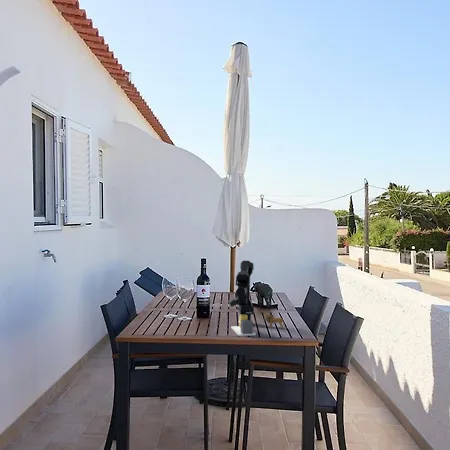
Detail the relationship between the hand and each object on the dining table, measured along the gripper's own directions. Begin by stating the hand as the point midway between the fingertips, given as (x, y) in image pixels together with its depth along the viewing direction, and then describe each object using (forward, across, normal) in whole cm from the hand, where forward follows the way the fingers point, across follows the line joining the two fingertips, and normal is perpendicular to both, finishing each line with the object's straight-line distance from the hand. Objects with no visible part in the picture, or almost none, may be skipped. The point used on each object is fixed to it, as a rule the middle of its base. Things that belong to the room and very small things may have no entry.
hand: (241, 319), depth 289 cm
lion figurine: (+7, -4, +22) cm, 24 cm away
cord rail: (+6, +4, 0) cm, 8 cm away
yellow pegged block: (+4, +4, 0) cm, 6 cm away
